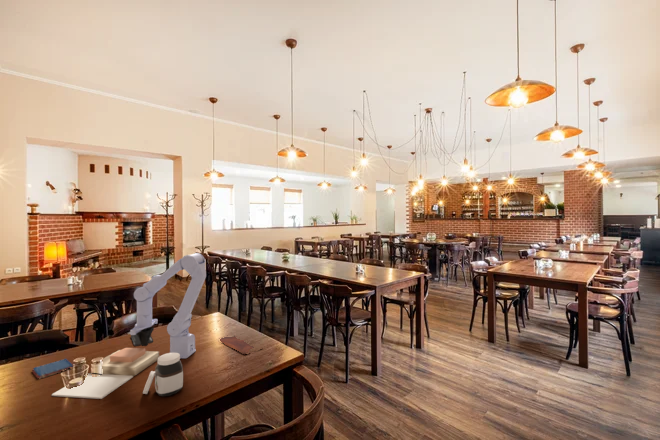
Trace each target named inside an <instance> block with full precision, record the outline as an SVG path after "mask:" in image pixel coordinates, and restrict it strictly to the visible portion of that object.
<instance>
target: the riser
mask: <svg viewBox="0 0 660 440" xmlns="http://www.w3.org/2000/svg"><path fill="white" fill-rule="evenodd" d="M120 350H121V349H118V350H117V351H115V352H112V353H111V354H109V355H107V356H105V357H104V358H102V359H103V365H102V369H103V374H109V375H128V376H133V377H134V376H136V375H139V374H140V373H141V372H142V371H144V370H145V369H147V368H148V367H149V366H151V365H153V364H155V362H158V357H160V351H153V350H152V351H149V350H146V353H145V354H144V355H142V356H141V357H139V358H137V359H136V360H134V361H133V362H115V361H110V356H111V355H113V354H115V353H117V352H118V351H120Z"/></svg>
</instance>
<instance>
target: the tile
mask: <svg viewBox="0 0 660 440" xmlns="http://www.w3.org/2000/svg"><path fill="white" fill-rule="evenodd" d="M119 350H120V351H118V350H117V351H118V352H117V353H115V352H114V353H115V354H113V353H112V354H113V355H111V354H110V355H111V356H110V361H115V362H133V361H134V360H136V359H137V358H139V357H141V356H142V355H144V354H145V353H146V351H147V349H146V348H144V347H143V348H142V347H141V348H140V347H138V348H137V347H124V348H122V349H119Z"/></svg>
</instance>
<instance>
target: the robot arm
mask: <svg viewBox="0 0 660 440" xmlns="http://www.w3.org/2000/svg"><path fill="white" fill-rule="evenodd" d="M206 263H207V262H206V258H205V257H204V255H203V254H201V253H199V252H195V253H191V254H186V255H184V256H182V257H181V258H179V259H178V260H176V261H175V262H174V263H173V264H172V265H171V266H170V267H169V268H168V269H166V270H165V271H164V272H163V273H162V274H156V275H152V276H151V277H150V278H151V279H150V280H148V281H147V282H145V283H143V284H142V286H141V287H138V288H136V289H135V290H134V292H133V298H134V299H135V300H136V323H135V324H134V327H133V328H132V329H130V330H129V335H130V336H131V335H136V334H137V336H138V337H139V340H140V342H141V345H140V346H141V347H147V346H149V344H150V343H149V339H150V336H151V337H152V333H153V332H154V329H155V328H154V327H152V326H154V325H155V324H156V325H157V324H158V321H159V320H158V318H153V298H154V296H155V295H156V293H157V292H159V291H160V290H161V289H163V288H164V287H165V286H166V285H167V283H168V280H169V279H171V278H172V277H173V276H174V275H176V274H178V273H179V272H180V271H183V270H184V271H185V272H186V273H188V274H189V276H190V277H191V279H190V282H189V285H188V287H187V290H186V292H185V294H184V297H183V299H182V302H181V304H180V305H179V309H178V311H177V313H175V315H174V316H173V319H172V320H171V322H169V323H168V324H167V326H166V332H167V333H168V335H169V344H170V345H169V353H179V354H180V359H187V358H189V357H190V356H191V355H193V354H194V353H195V352H196V351H197V350H196V336H195V334H193V333H190V332H189V331H190V330H189V328H190V326H191V324H192V317H193V314H192V311H193V309H194V308H195V304H196V303H197V300H198V298H199V295H200V293H201V290H202V288H203V286H204V283H205V280H206V277H207V270H206Z"/></svg>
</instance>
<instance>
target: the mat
mask: <svg viewBox="0 0 660 440" xmlns="http://www.w3.org/2000/svg"><path fill="white" fill-rule="evenodd" d="M87 374H88V375H87V377H86V378H85V380H84V383H83V384H82V385H80V386H77V387H73V388H71V389H67V388H66V386H67V385H66V386H64V387H62V388H60V389H59V390H57V391H55V392H53V393H52V394H51V397H61V398H62V397H63V398H64V397H65V398H77V399H78V398H80V399H81V398H83V399H97V400H99V399H100V400H102V399H104V398H105V397H107V396H108V395H109V394H110V393H112V392H114V391H115V390H117V389H118V388H119V387H120V386H122V385H124V384H125V383H127V382H128V381H129V380H131V379H132V378H134V376H131V375H111V374H102V375H100V376H97V377H92V375H91V374H92V373H91V372H90V373H87Z"/></svg>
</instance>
